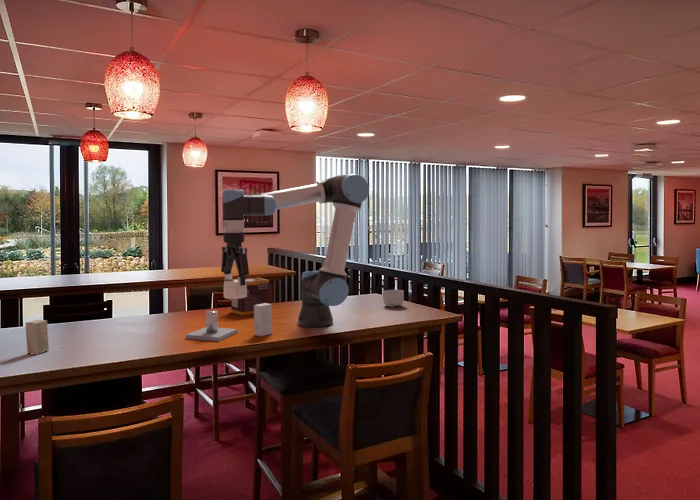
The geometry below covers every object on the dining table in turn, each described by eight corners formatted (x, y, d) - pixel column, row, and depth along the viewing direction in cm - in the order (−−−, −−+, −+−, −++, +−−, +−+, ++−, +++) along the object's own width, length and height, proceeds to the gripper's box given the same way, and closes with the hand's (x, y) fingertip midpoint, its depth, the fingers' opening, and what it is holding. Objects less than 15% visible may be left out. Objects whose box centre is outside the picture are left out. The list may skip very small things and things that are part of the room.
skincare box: (265, 332, 209) (265, 302, 208) (272, 333, 207) (272, 304, 206) (253, 334, 205) (253, 304, 204) (260, 336, 202) (260, 306, 201)
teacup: (397, 309, 258) (397, 293, 257) (378, 306, 264) (378, 291, 263) (410, 304, 269) (410, 289, 269) (391, 302, 275) (391, 287, 275)
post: (220, 331, 205) (219, 310, 204) (214, 333, 200) (213, 313, 200) (210, 330, 206) (209, 310, 205) (204, 332, 202) (203, 312, 201)
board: (237, 332, 208) (237, 329, 208) (218, 341, 195) (218, 337, 194) (206, 330, 212) (206, 326, 212) (186, 338, 199) (186, 334, 198)
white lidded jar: (250, 295, 196) (249, 278, 196) (240, 299, 189) (239, 281, 188) (230, 294, 198) (230, 277, 198) (220, 298, 191) (219, 280, 190)
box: (39, 350, 182) (38, 319, 181) (49, 351, 181) (48, 319, 180) (26, 354, 177) (24, 322, 176) (36, 355, 176) (34, 323, 175)
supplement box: (270, 311, 251) (269, 279, 250) (241, 315, 242) (240, 282, 240) (259, 308, 259) (258, 277, 258) (230, 312, 249) (230, 280, 248)
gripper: (210, 231, 197) (212, 290, 199) (240, 233, 181) (241, 297, 183) (228, 230, 202) (229, 288, 204) (258, 232, 186) (259, 294, 188)
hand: (235, 292), depth 193 cm, fingers closed on white lidded jar, 8 cm apart
